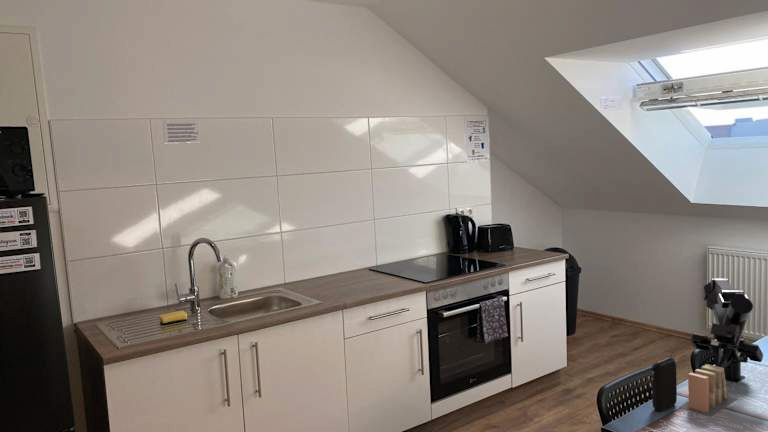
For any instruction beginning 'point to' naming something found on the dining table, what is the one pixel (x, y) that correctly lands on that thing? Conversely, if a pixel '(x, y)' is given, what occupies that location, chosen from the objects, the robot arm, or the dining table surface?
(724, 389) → the domino
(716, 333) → the robot arm
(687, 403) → the rubber mat
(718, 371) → the domino
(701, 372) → the domino
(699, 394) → the domino
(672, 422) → the dining table surface
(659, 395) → the black upright slab
